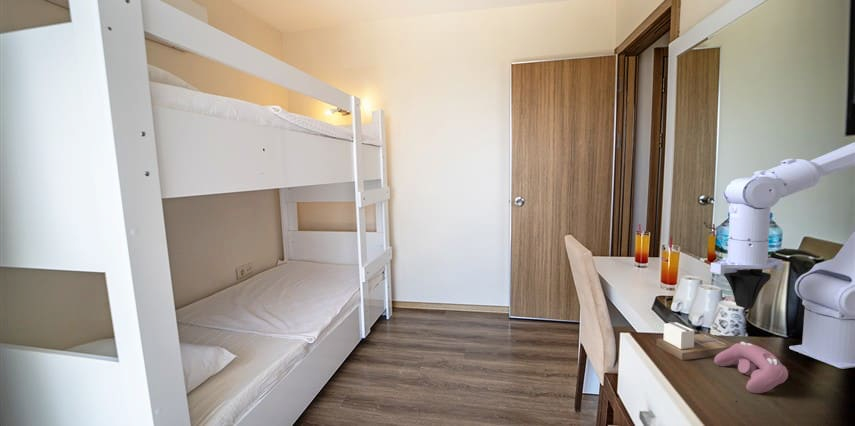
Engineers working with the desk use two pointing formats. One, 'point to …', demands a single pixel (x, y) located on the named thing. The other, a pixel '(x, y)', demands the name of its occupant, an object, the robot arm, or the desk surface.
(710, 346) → the fader board
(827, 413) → the desk surface
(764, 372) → the video game controller
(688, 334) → the fader tab
